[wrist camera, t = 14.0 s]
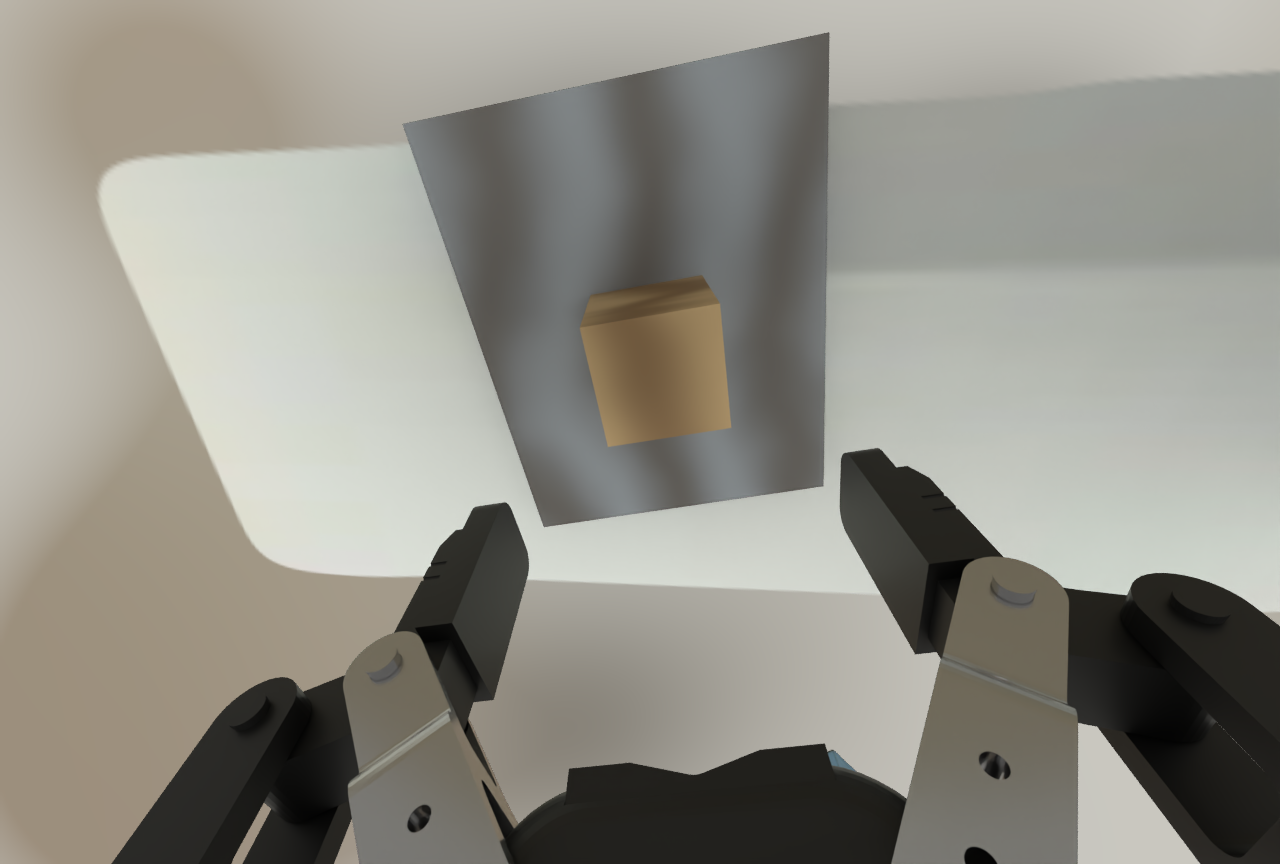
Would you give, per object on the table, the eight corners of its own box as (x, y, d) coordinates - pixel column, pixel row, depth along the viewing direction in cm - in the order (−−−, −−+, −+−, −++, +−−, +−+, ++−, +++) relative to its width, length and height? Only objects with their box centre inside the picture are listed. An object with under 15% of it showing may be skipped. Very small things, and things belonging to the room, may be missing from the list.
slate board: (818, 40, 18) (829, 32, 17) (816, 474, 28) (823, 486, 27) (415, 126, 19) (402, 124, 18) (547, 513, 29) (543, 527, 28)
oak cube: (701, 275, 21) (720, 303, 17) (713, 379, 23) (731, 427, 19) (590, 294, 21) (579, 327, 17) (612, 395, 24) (608, 447, 19)
